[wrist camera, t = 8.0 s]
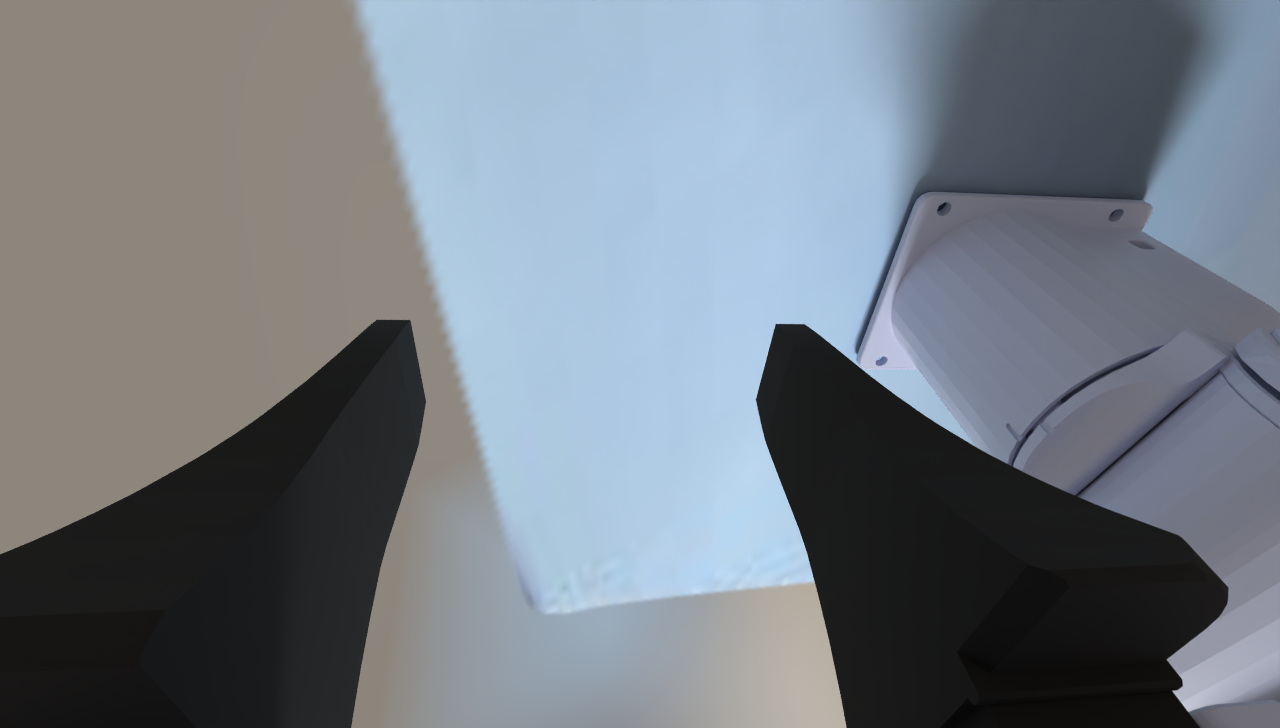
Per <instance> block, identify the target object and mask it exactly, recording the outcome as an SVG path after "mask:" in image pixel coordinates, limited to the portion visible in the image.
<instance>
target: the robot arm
mask: <svg viewBox="0 0 1280 728" xmlns="http://www.w3.org/2000/svg"><path fill="white" fill-rule="evenodd" d="M945 202H946V205H945V207H944V208H943V209H942V210H940V211H937V209H938V207H939V206H940V205H941V204H943V203H945ZM1152 210H1153V207H1152V206H1151V204H1149V203H1147V202H1145V201H1142V200H1126V199H1102V198H1077V197H1052V196H1027V195H1003V194H978V193H953V192H927V193H925V194H923V195H921V196H920V197H919V198H918V199H917V200H916V202H915V204H914V206H913V209H912V212H911V214H910V217H909V219H908V222H907V225H906V227H905V230H904V233H903V235H902V238H901V241H900V243H899V246H898V249H897V251H896V254H895V257H894V259H893V262H892V264H891V267H890V270H889V272H888V275H887V278H886V280H885V283H884V286H883V288H882V291H881V294H880V296H879V299H878V302H877V304H876V307H875V310H874V312H873V315H872V317H871V320H870V323H869V325H868V328H867V331H866V333H865V336H864V339H863V341H862V344H861V347H860V349H859V352H858V355H857V359H856V360H857V363H858V364H859V366H860V367H861V368H862V369H873V370H919V371H920V373H921V374H922V375H923V377H924V378H925V379H926V381H927V382H928V383H929V385H930V386H931V387H932V389H933V390H934V391H935V393H936V394H937V396H938V397H939V398H940V400H941V401H942V402H943V404H944V405H945V406H946V408H947V409H948V410H949V412H950V413H951V414H952V416H953V417H954V418H955V420H956V421H957V422H958V424H959V425H960V426H961V428H962V429H963V430H964V432H965V433H966V435H967V436H968V437H969V439H970V440H971V441H972V443H973V444H974V445H975V446H973V445H971V444H970V443H968V442H966V441H965V440H963V439H961V438H960V437H958V436H956V435H955V434H953V433H951V432H950V431H948V430H946V429H945V428H943V427H941V426H940V425H938V424H937V423H935V422H934V421H932V420H931V419H929V418H927V417H926V416H924V415H923V414H921V413H920V412H919V411H917V410H916V409H914V408H913V407H912V406H910V405H909V404H907V403H906V402H904V401H903V400H902V399H900V398H899V397H897V396H896V395H895V394H893V393H892V392H891V391H889V390H888V389H887V388H885V387H884V386H883V385H881V384H880V383H879V382H877V381H876V380H875V379H873V378H872V377H871V376H870V375H868V374H867V373H866V372H865V371H863V370H862V369H861V368H859V367H858V366H857V365H856V364H854V363H853V362H852V361H851V360H850V359H848V358H847V357H846V356H845V355H843V354H842V353H841V352H840V351H838V350H837V349H836V348H835V347H834V346H832V345H831V344H830V343H829V342H827V341H826V340H825V339H824V338H822V337H821V336H820V335H818V334H817V333H816V332H815V331H813V330H812V329H810V328H809V327H808V326H806V325H805V324H776V325H775V329H774V333H773V337H772V341H771V344H770V348H769V352H768V356H767V360H766V363H765V367H764V371H763V375H762V379H761V383H760V386H759V390H758V394H757V398H756V402H757V406H758V411H759V416H760V421H761V425H762V429H763V433H764V437H765V441H766V444H767V447H768V449H769V452H770V455H771V457H772V460H773V463H774V465H775V468H776V471H777V473H778V476H779V479H780V481H781V484H782V486H783V489H784V491H785V494H786V497H787V499H788V502H789V504H790V507H791V509H792V512H793V515H794V517H795V520H796V522H797V525H798V527H799V530H800V533H801V536H802V539H803V542H804V545H805V548H806V551H807V554H808V558H809V562H810V566H811V569H812V573H813V577H814V581H815V584H816V588H817V592H818V596H819V600H820V604H821V608H822V612H823V617H824V620H825V625H826V629H827V633H828V637H829V642H830V646H831V651H832V656H833V661H834V665H835V670H836V675H837V680H838V684H839V689H840V694H841V699H842V705H843V710H844V716H845V721H846V727H847V728H1280V313H1279V312H1277V311H1276V310H1275V309H1274V308H1272V307H1271V306H1269V305H1268V304H1266V303H1265V302H1263V301H1261V300H1259V299H1258V298H1256V297H1254V296H1253V295H1251V294H1249V293H1247V292H1246V291H1244V290H1242V289H1240V288H1239V287H1237V286H1235V285H1234V284H1232V283H1230V282H1228V281H1227V280H1225V279H1223V278H1222V277H1220V276H1218V275H1216V274H1215V273H1213V272H1211V271H1209V270H1208V269H1206V268H1204V267H1203V266H1201V265H1199V264H1197V263H1196V262H1194V261H1192V260H1190V259H1189V258H1187V257H1185V256H1184V255H1182V254H1180V253H1178V252H1177V251H1175V250H1173V249H1172V248H1170V247H1168V246H1166V245H1165V244H1163V243H1161V242H1159V241H1158V240H1156V239H1154V238H1153V237H1151V236H1149V235H1147V234H1146V233H1144V232H1142V231H1141V230H1142V229H1143V227H1144V226H1145V224H1146V222H1147V221H1148V219H1149V218H1150V216H1151V214H1152ZM1113 211H1115V212H1114V213H1113V214H1112V215H1111V216H1110V214H1111V213H1112V212H1113ZM880 357H882V358H881V359H880V360H877V359H878V358H880ZM425 404H426V400H425V394H424V389H423V384H422V379H421V374H420V368H419V363H418V358H417V353H416V348H415V342H414V337H413V332H412V327H411V321H410V320H376V321H375V322H374V323H373V324H371V325H370V326H369V327H368V328H367V329H366V330H364V331H363V332H362V333H361V334H360V335H359V336H358V337H356V338H355V339H354V340H353V341H352V342H351V343H350V344H349V345H348V346H346V347H345V348H344V349H343V350H342V351H341V352H340V353H338V354H337V355H336V356H335V357H334V358H333V359H331V360H330V361H329V362H328V363H327V364H326V365H325V366H324V367H322V368H321V369H320V370H319V371H318V372H317V373H315V374H314V375H313V376H312V377H310V378H309V379H308V380H307V381H306V382H305V383H303V384H302V385H301V386H299V387H298V388H297V389H295V390H294V391H293V392H292V393H290V394H289V395H288V396H286V397H285V398H284V399H283V400H281V401H280V402H279V403H277V404H276V405H275V406H273V407H272V408H271V409H270V410H268V411H267V412H266V413H264V414H263V415H262V416H260V417H259V418H258V419H256V420H255V421H253V422H252V423H251V424H249V425H248V426H246V427H245V428H243V429H242V430H240V431H239V432H237V433H236V434H234V435H233V436H231V437H230V438H228V439H227V440H225V441H223V442H222V443H220V444H219V445H217V446H216V447H214V448H212V449H211V450H210V451H208V452H206V453H205V454H203V455H201V456H200V457H198V458H196V459H195V460H193V461H191V462H189V463H188V464H186V465H184V466H182V467H180V468H179V469H177V470H175V471H173V472H171V473H169V474H168V475H166V476H164V477H162V478H161V479H159V480H157V481H155V482H153V483H152V484H150V485H148V486H146V487H144V488H143V489H141V490H139V491H137V492H135V493H133V494H131V495H130V496H128V497H125V498H123V499H121V500H120V501H117V502H115V503H113V504H111V505H110V506H107V507H105V508H103V509H101V510H99V511H98V512H95V513H94V514H91V515H89V516H87V517H85V518H82V519H80V520H78V521H76V522H74V523H72V524H70V525H68V526H65V527H63V528H61V529H59V530H57V531H55V532H53V533H50V534H48V535H45V536H43V537H41V538H39V539H37V540H34V541H32V542H30V543H27V544H25V545H22V546H20V547H17V548H15V549H13V550H10V551H8V552H5V553H3V554H0V728H351V724H352V718H353V712H354V706H355V699H356V694H357V688H358V681H359V676H360V669H361V664H362V659H363V653H364V648H365V642H366V637H367V632H368V626H369V621H370V616H371V611H372V606H373V601H374V596H375V591H376V586H377V582H378V577H379V572H380V567H381V563H382V560H383V556H384V552H385V549H386V545H387V542H388V539H389V536H390V533H391V530H392V527H393V524H394V520H395V517H396V514H397V511H398V508H399V505H400V502H401V499H402V496H403V493H404V489H405V487H406V483H407V480H408V477H409V474H410V471H411V468H412V465H413V461H414V458H415V455H416V452H417V448H418V445H419V439H420V433H421V428H422V422H423V416H424V410H425Z"/></svg>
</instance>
